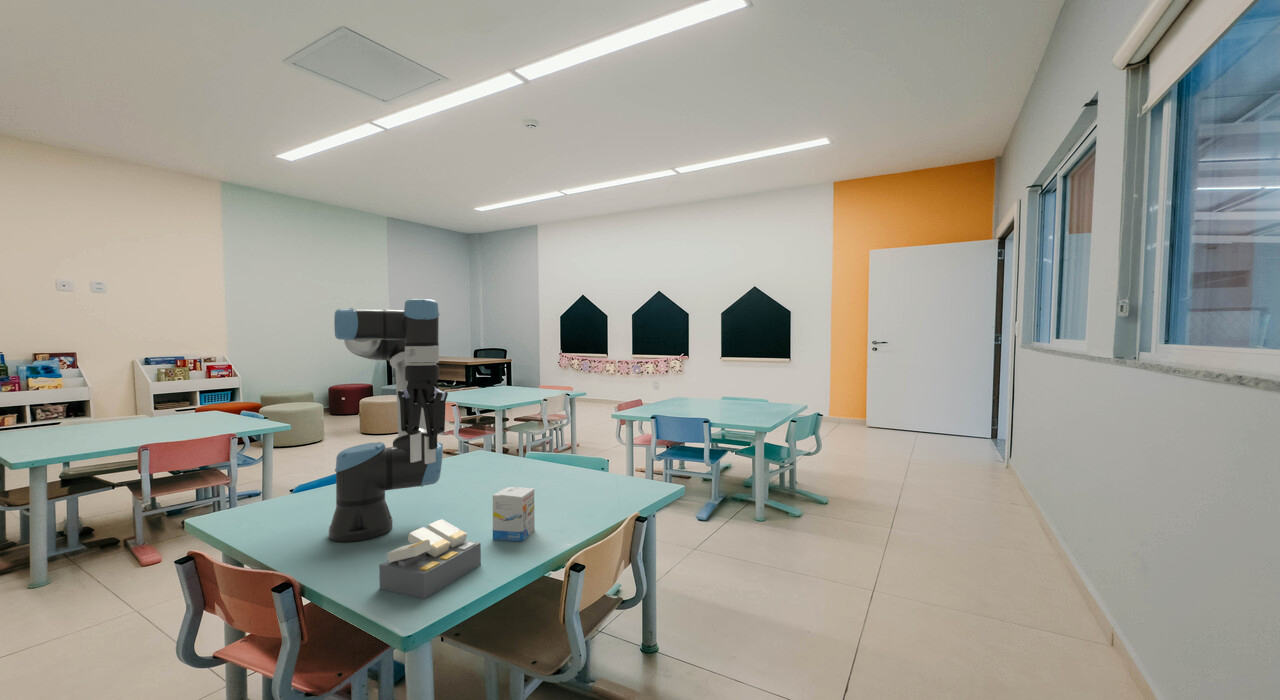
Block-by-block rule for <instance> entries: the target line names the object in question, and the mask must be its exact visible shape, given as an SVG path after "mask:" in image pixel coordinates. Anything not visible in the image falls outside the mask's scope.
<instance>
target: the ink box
mask: <svg viewBox="0 0 1280 700" xmlns="http://www.w3.org/2000/svg"><path fill="white" fill-rule="evenodd" d="M535 523H536V522H535V488H534V487H532V488H531V487H521V486H520V487H518V486H513V487H511V486H510V487H509V486H507V487H505V488H503V489H501V490H500V491H497V492H495V493H493V494H492V540H497V541H508V542H509V541H511V542H523V541H525V539H527V538H528V537H529V536H530V535H531V534H532V533H533V532H534V531H535V530H536V529H535Z"/></svg>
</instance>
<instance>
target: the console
mask: <svg viewBox="0 0 1280 700" xmlns="http://www.w3.org/2000/svg"><path fill="white" fill-rule="evenodd" d="M481 546H482V543H481V542H477V541H472V540H467V539H466V541H465V542H463V543H461V544H459V545H457V546H455V547H451V546H449V549H448V551H446V552H444V553H442V554H440V555H438V556H436V557H433V556H432V555H430V554H428V553H427V552H424V553H422V554H420V555H418V556H415V557H410V558H406V559H402V560H397V561H393V562H389V561H388V560H386V561H384V562H382V563H380V564H378V565H379V589H381V590H385V591H389V592H393V593H397V594H401V595H405V596H411V597H414V598H418V599H422V600H423V599H424V600H425V599H426V598H429V596H431V595H434V594H435V593H436V592H438V591H439V590H442V588H443V589H444V587H446V586H448V585H450V584H451V583H453V582H455V581H456V580H457V579H459V578H462V577H463V576H465V575H466V574H467V573H469V572H471V571H473V570H475V568H477V567H479V566H481V564H482V556H481V553H482V551H481V549H482V547H481Z"/></svg>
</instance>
